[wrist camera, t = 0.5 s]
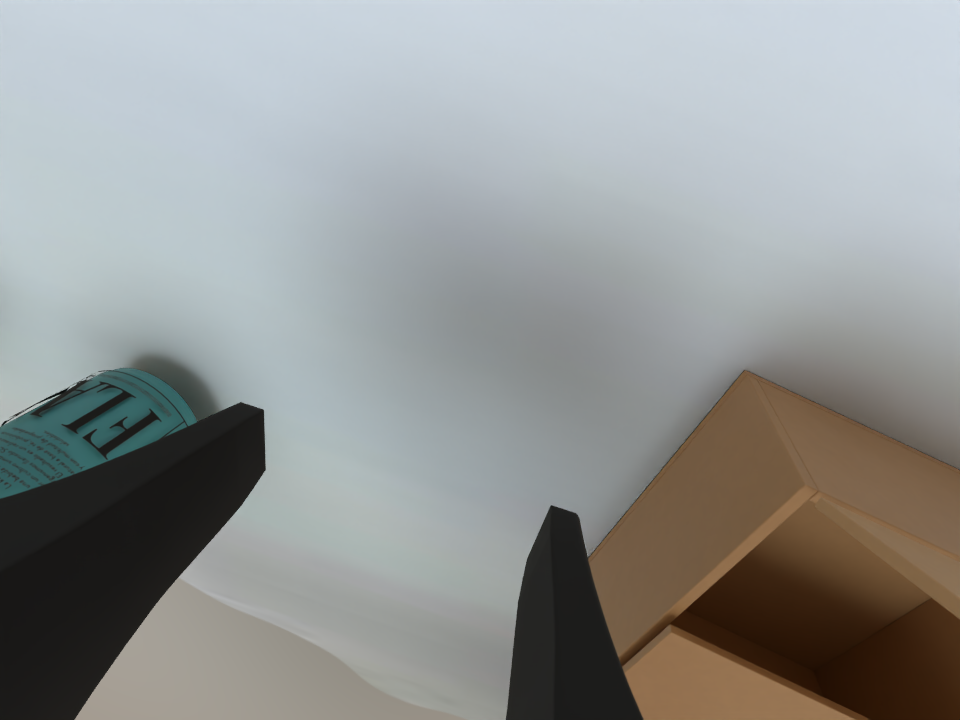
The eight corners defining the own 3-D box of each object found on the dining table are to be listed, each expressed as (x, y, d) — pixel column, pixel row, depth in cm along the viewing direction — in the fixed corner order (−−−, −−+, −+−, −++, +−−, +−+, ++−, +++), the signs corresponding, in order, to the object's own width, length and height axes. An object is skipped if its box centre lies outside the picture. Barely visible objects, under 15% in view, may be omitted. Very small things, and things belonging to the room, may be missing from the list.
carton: (744, 369, 18) (815, 503, 12) (1057, 515, 18) (1292, 727, 12) (584, 561, 25) (577, 712, 18) (813, 670, 24) (882, 858, 18)
